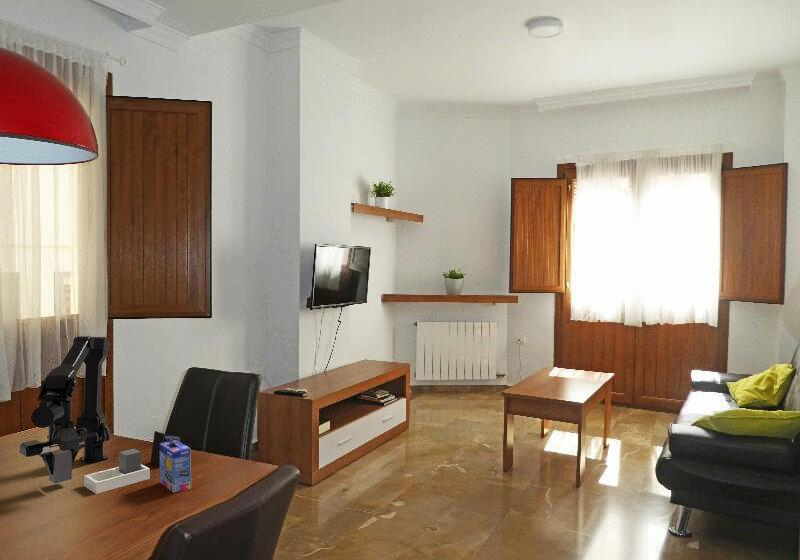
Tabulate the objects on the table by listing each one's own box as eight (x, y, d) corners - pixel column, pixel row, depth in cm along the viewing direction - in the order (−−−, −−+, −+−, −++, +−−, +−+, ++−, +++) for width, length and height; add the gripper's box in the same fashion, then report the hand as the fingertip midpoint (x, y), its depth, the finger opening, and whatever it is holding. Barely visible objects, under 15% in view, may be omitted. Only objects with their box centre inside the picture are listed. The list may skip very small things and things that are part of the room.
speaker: (154, 468, 183) (157, 434, 183) (149, 464, 187) (153, 431, 188) (179, 466, 187) (182, 433, 187) (174, 462, 192) (177, 429, 192)
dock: (84, 487, 167) (84, 475, 167) (137, 473, 179) (137, 462, 179) (96, 495, 162) (96, 482, 162) (149, 480, 174) (149, 468, 174)
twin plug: (119, 478, 173) (119, 452, 173) (133, 474, 176) (133, 448, 176) (125, 482, 170) (126, 455, 170) (140, 478, 174) (141, 451, 173)
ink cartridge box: (158, 484, 171) (158, 435, 170) (176, 479, 175) (177, 431, 174) (172, 494, 164) (173, 443, 163) (191, 489, 168) (192, 439, 167)
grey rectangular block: (48, 479, 167) (48, 451, 167) (65, 475, 170) (65, 447, 170) (54, 483, 164) (54, 455, 164) (71, 479, 167) (71, 451, 167)
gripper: (33, 430, 154) (33, 489, 155) (106, 416, 168) (106, 470, 169) (18, 422, 161) (19, 478, 162) (90, 409, 175) (90, 461, 176)
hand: (60, 472), depth 167 cm, fingers closed on grey rectangular block, 4 cm apart
